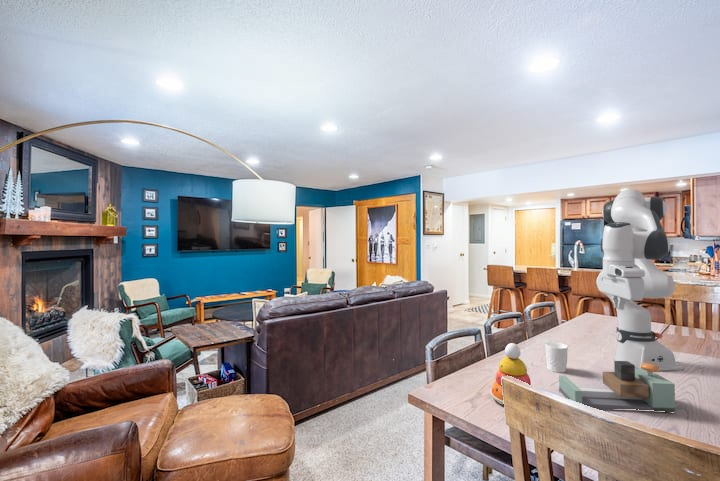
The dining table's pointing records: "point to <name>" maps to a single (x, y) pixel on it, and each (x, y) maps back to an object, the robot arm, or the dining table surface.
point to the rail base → (608, 399)
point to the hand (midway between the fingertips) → (619, 309)
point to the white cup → (556, 356)
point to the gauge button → (650, 368)
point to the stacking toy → (509, 371)
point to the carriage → (625, 381)
